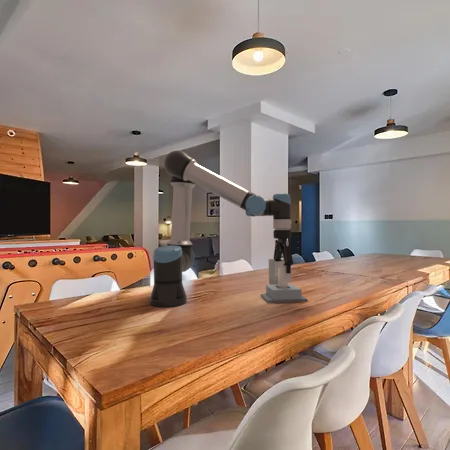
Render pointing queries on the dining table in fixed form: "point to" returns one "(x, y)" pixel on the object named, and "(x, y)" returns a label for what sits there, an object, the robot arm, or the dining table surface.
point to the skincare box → (272, 278)
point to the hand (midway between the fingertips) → (282, 278)
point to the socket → (283, 294)
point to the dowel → (281, 279)
